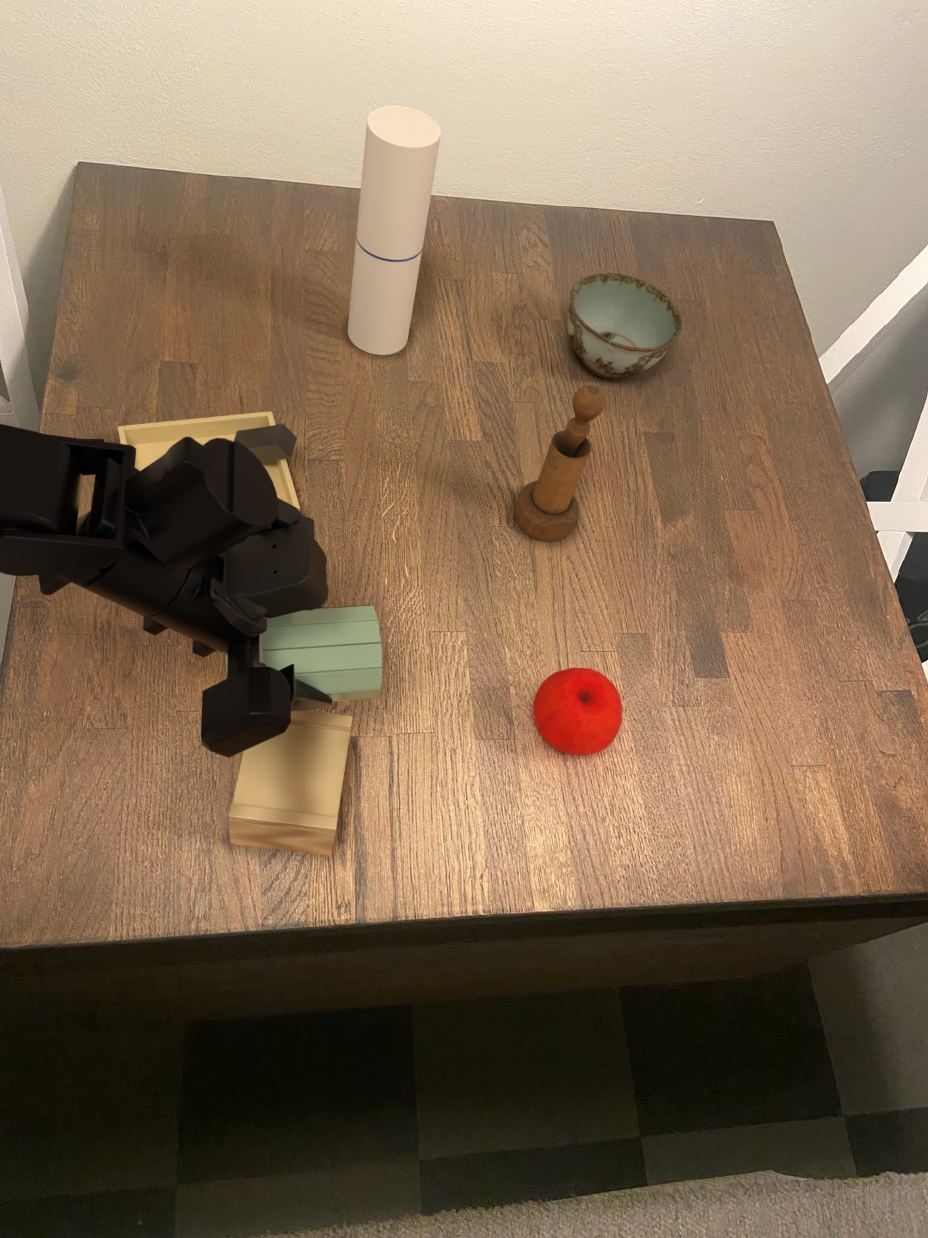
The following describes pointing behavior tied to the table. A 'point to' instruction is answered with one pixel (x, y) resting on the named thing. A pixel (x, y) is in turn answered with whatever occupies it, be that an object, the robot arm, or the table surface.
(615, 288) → the bowl
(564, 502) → the mortar and pestle
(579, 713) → the apple
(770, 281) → the table surface
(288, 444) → the black block
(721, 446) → the table surface
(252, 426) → the tray
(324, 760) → the wooden block
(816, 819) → the table surface
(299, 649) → the grooved sage-green cylinder
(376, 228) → the cylindrical container
